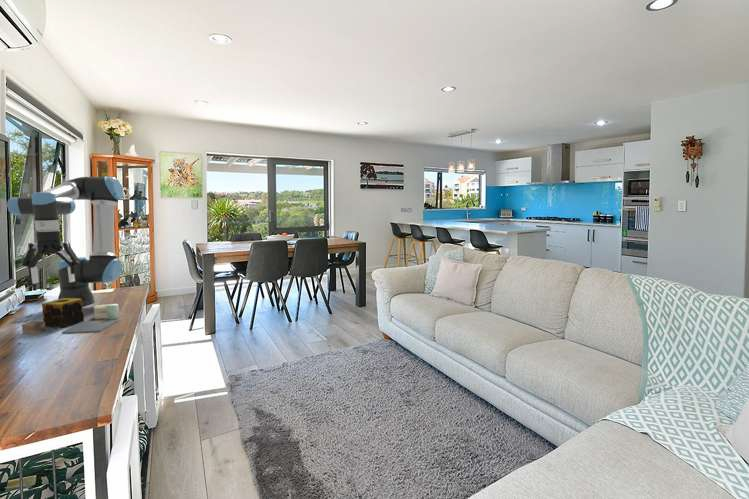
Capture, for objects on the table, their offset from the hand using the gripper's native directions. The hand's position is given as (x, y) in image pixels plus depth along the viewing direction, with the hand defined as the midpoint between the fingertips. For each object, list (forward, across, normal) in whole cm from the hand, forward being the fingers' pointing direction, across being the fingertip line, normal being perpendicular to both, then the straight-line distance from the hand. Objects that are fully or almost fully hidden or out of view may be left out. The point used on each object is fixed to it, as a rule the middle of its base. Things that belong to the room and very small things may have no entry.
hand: (54, 282), depth 166 cm
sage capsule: (+19, +17, +8) cm, 27 cm away
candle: (+19, 0, +3) cm, 19 cm away
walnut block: (+19, -5, -7) cm, 20 cm away
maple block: (+19, +11, +11) cm, 25 cm away
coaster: (+18, +14, -4) cm, 24 cm away
